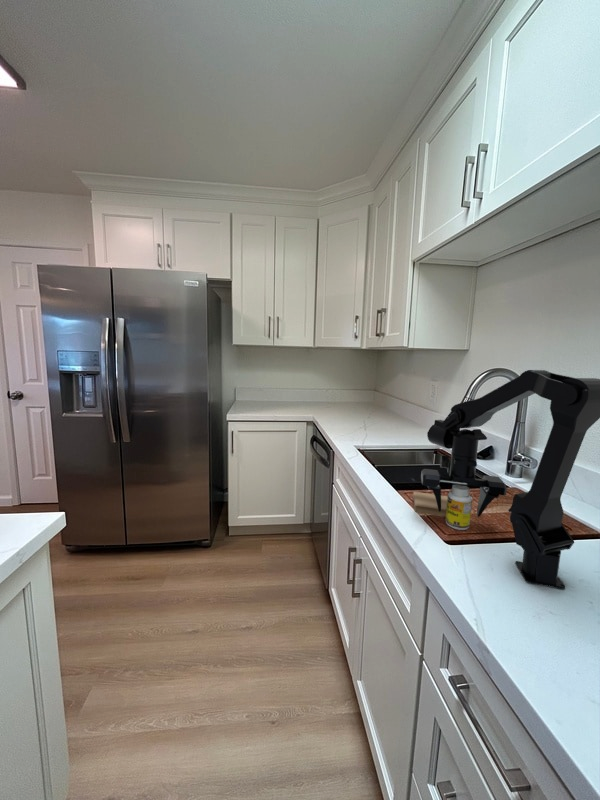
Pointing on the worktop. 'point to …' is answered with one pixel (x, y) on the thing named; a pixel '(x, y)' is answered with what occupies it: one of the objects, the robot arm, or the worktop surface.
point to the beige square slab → (429, 504)
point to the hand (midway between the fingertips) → (458, 513)
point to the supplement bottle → (459, 507)
